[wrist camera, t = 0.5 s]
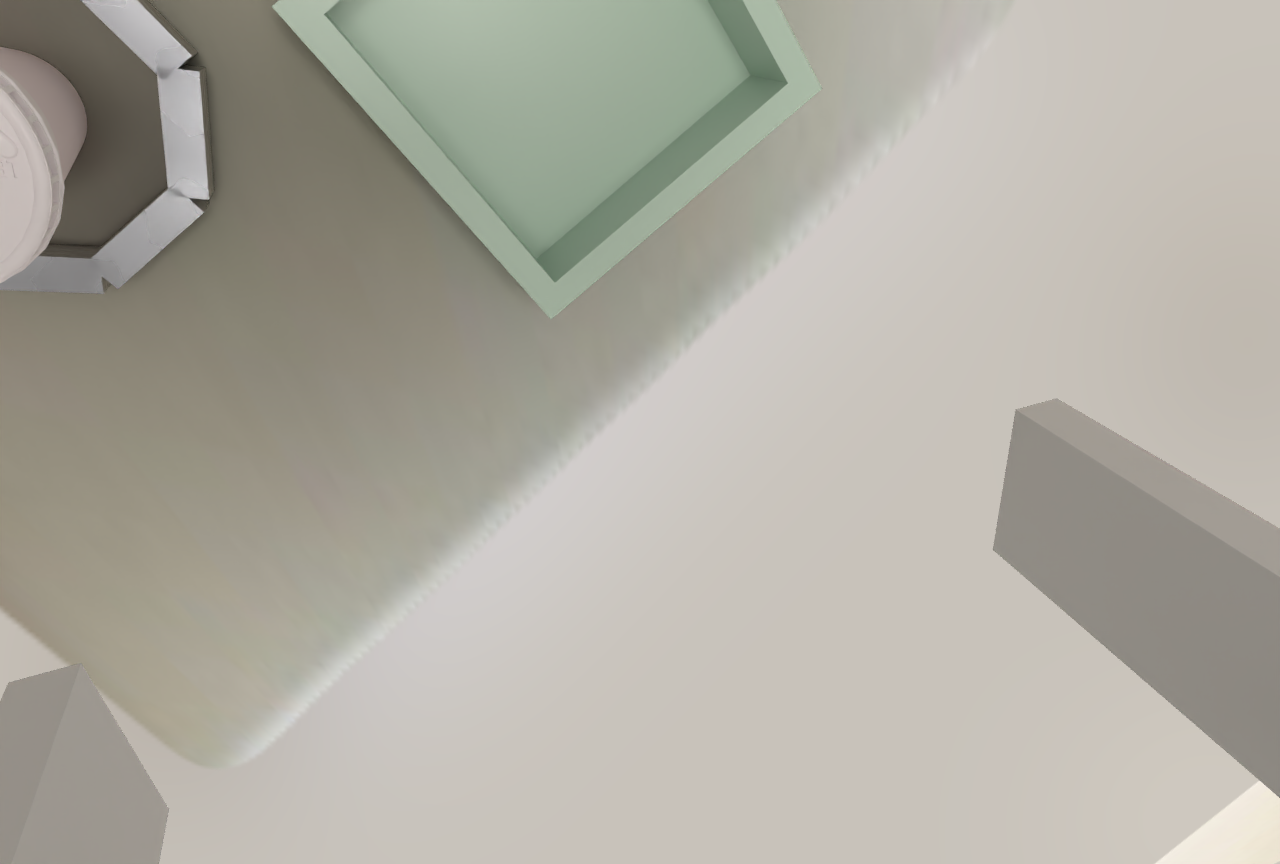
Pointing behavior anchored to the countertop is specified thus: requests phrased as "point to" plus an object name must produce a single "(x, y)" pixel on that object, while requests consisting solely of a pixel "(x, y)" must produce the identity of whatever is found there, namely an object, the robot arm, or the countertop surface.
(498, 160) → the bin
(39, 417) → the countertop surface
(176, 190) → the collar
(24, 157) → the smoothie
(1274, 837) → the countertop surface
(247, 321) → the countertop surface
